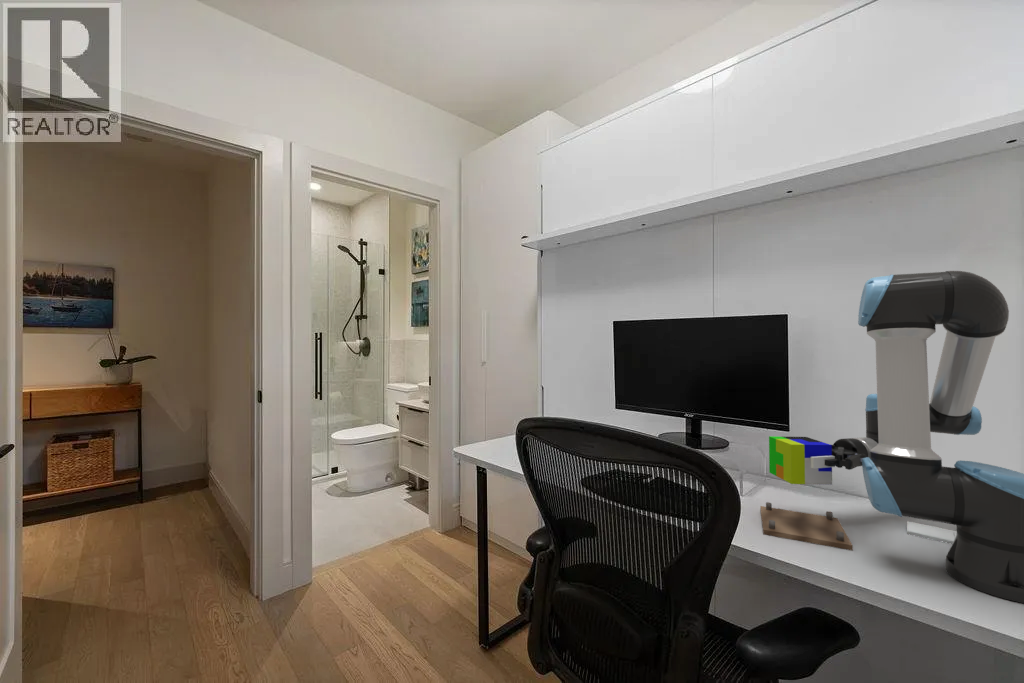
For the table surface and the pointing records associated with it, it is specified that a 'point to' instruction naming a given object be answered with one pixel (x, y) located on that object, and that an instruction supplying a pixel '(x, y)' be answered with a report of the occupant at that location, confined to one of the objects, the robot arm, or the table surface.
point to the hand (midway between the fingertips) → (789, 456)
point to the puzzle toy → (798, 460)
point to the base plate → (804, 527)
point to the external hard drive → (931, 532)
